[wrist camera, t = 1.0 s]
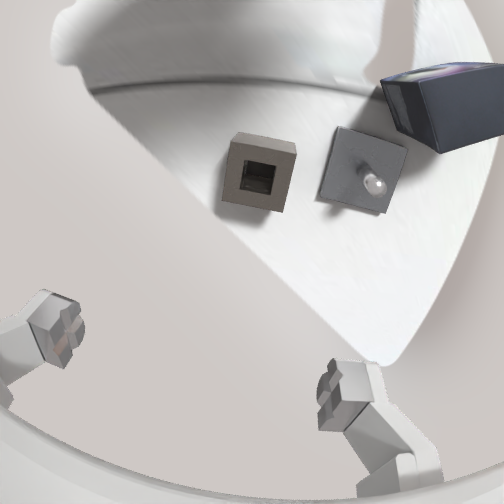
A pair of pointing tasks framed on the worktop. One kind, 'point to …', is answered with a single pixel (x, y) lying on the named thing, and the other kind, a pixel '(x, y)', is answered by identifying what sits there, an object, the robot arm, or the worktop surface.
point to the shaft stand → (362, 170)
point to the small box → (448, 103)
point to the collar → (256, 187)
